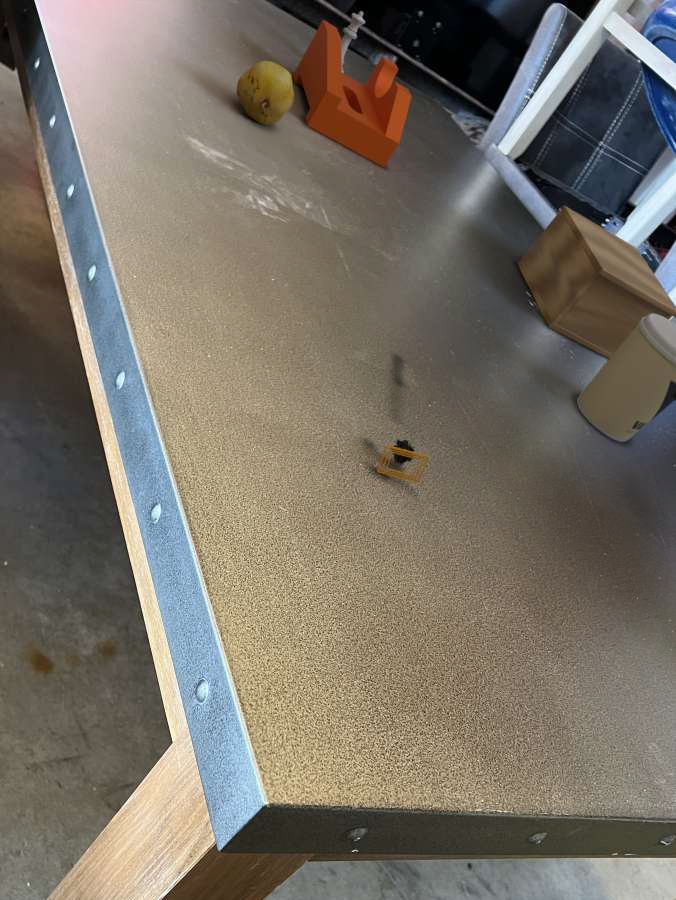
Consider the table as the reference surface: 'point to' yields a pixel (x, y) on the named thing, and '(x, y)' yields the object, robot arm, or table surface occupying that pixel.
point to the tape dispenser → (352, 99)
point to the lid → (618, 261)
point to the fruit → (266, 92)
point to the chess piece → (351, 32)
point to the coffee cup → (633, 381)
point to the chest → (580, 292)
